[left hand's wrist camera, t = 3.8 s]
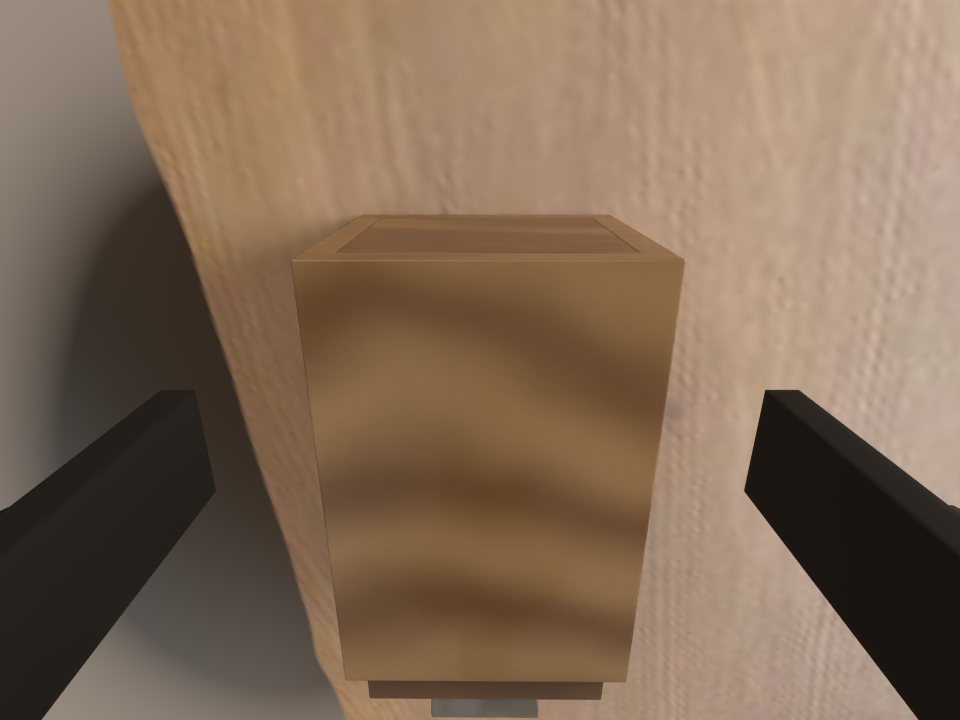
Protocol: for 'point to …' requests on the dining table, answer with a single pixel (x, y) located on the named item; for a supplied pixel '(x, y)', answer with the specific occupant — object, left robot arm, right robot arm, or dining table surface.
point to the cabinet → (487, 438)
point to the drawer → (485, 695)
